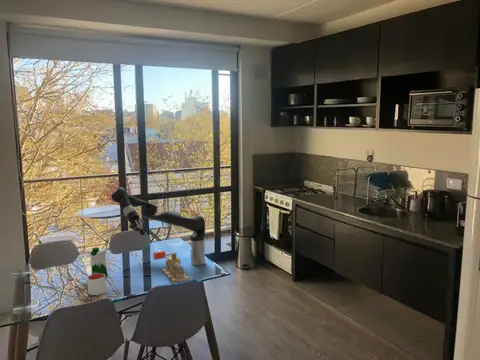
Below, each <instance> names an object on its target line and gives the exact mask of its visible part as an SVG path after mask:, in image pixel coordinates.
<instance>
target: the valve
mask: <svg viewBox="0 0 480 360" xmlns="http://www.w3.org/2000/svg"><path fill="white" fill-rule="evenodd" d="M161 272H162V273H163V274H164V275H165V276H166V277H167V278H168V279H169V280H170V281H171V282H172V284H177V283H176V282H179V283H182V282H181V281H184V282H188V281H190V277H189V276H188V274H186V273H185V269H184V266H183V265H182V264H181V258H179V257H178V256H177V255H176V256H172V255H169V256H166V258H165V267H164V268H161ZM187 280H188V281H187Z"/></svg>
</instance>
